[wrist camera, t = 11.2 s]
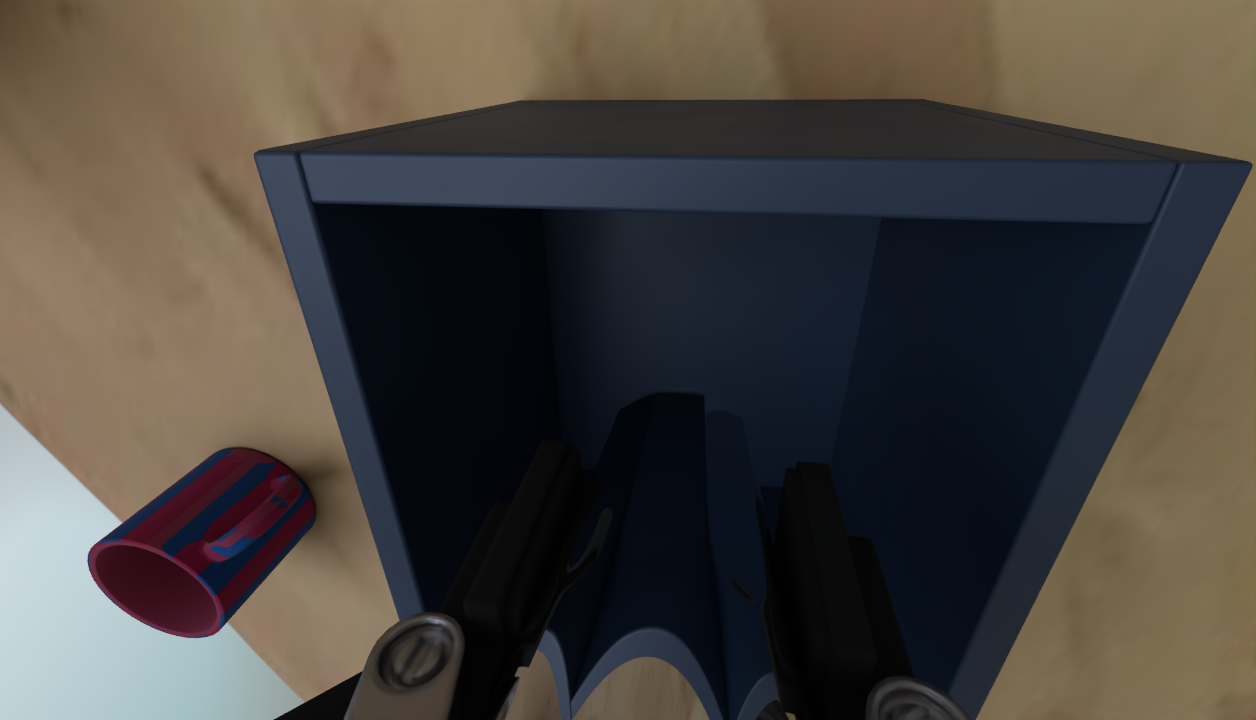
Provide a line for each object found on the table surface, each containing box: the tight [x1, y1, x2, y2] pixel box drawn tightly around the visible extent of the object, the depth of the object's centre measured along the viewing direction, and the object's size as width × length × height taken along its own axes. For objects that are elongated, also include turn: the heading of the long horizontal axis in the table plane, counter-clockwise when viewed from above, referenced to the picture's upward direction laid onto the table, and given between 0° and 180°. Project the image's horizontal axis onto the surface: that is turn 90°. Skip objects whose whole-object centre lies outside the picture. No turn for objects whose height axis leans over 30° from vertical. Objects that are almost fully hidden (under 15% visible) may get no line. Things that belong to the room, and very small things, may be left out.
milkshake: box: [481, 387, 814, 720], centre depth 8 cm, size 4×5×10 cm
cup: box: [88, 448, 315, 638], centre depth 28 cm, size 7×10×7 cm
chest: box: [254, 99, 1252, 720], centre depth 17 cm, size 17×14×13 cm
